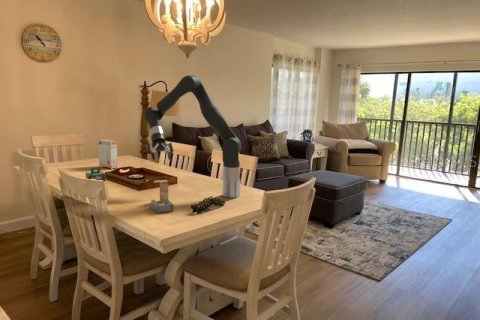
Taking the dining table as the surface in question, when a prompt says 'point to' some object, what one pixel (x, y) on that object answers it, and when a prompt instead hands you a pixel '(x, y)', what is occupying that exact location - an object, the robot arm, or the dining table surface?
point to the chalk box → (96, 174)
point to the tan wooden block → (163, 190)
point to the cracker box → (108, 153)
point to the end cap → (162, 206)
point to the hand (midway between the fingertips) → (162, 159)
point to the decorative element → (201, 208)
